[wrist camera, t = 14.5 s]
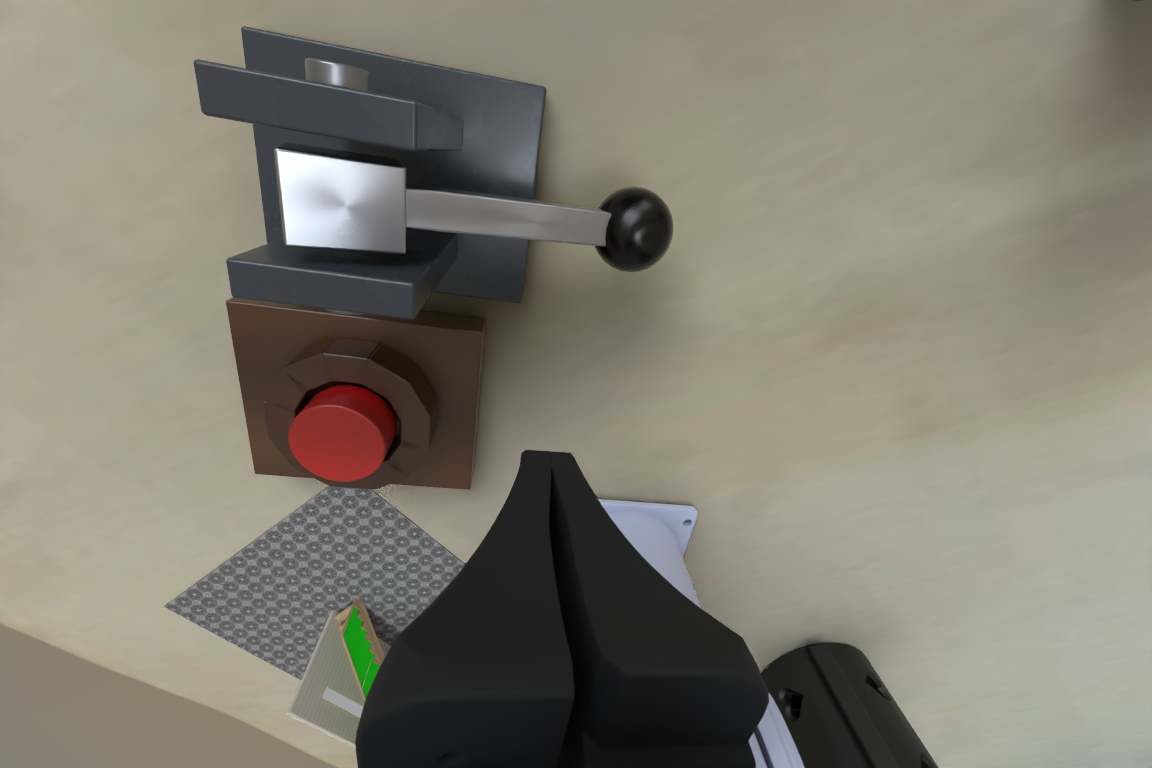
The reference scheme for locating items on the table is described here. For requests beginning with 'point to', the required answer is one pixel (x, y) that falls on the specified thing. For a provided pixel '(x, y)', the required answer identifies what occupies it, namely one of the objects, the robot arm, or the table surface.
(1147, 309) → the table surface
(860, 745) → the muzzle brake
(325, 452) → the stop button
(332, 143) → the switch bracket
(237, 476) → the table surface
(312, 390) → the stop block
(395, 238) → the switch lever
